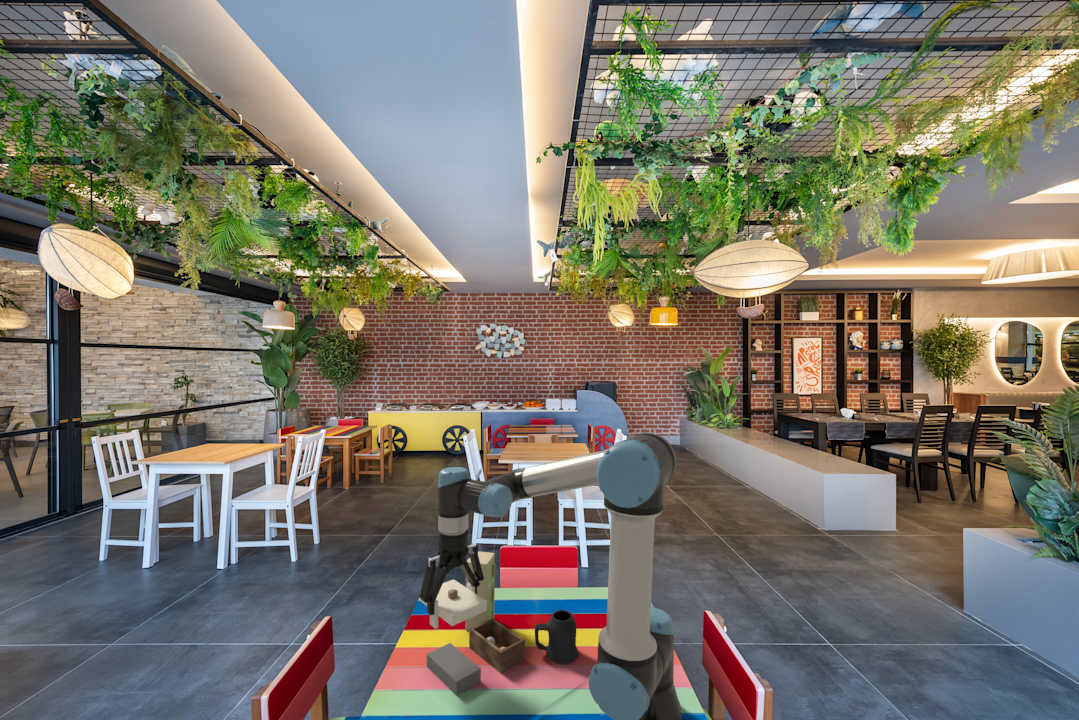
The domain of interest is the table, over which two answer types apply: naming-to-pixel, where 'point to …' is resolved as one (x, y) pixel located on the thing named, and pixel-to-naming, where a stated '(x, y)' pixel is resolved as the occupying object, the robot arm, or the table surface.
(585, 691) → the table surface
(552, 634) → the mug
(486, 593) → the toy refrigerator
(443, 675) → the block
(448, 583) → the lid
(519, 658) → the box
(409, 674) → the table surface
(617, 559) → the robot arm
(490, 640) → the ball bluegrey
